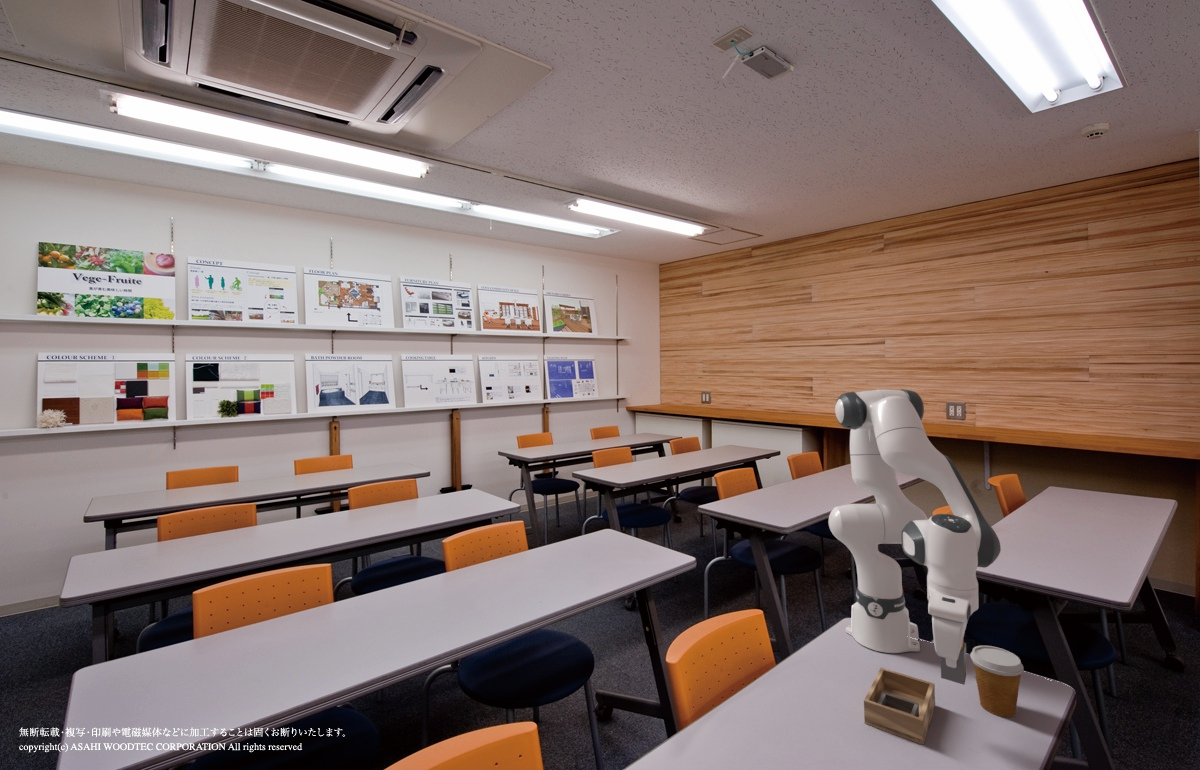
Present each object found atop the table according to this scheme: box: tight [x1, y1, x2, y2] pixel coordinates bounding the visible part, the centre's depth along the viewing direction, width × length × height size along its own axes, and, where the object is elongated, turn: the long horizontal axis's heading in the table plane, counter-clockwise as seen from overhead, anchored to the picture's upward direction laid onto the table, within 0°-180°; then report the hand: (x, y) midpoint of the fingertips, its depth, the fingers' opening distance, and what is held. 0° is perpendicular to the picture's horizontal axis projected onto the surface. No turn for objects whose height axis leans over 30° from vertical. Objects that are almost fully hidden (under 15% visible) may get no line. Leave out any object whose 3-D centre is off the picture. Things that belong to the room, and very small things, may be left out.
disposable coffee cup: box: [969, 645, 1024, 718], centre depth 116 cm, size 10×10×12 cm
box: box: [863, 667, 936, 746], centre depth 115 cm, size 16×11×5 cm
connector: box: [940, 640, 967, 686], centre depth 108 cm, size 4×4×8 cm
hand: (953, 659), depth 108 cm, fingers closed on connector, 4 cm apart
